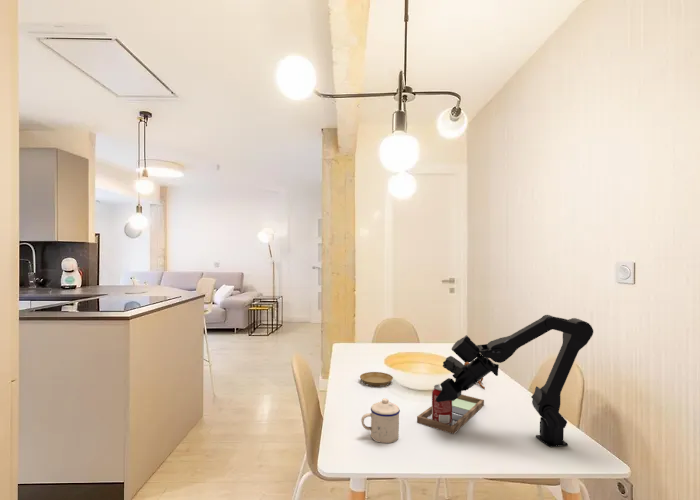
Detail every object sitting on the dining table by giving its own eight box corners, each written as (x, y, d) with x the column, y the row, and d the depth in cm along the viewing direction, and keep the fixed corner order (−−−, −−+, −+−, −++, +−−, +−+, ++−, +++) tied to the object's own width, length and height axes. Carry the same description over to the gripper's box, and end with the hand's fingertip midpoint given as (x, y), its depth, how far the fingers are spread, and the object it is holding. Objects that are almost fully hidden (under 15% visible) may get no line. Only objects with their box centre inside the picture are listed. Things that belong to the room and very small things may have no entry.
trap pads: (461, 422, 128) (461, 421, 128) (432, 413, 134) (432, 413, 134) (472, 412, 136) (472, 411, 136) (444, 404, 143) (444, 404, 143)
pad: (472, 412, 137) (472, 411, 137) (445, 404, 143) (445, 403, 143) (480, 405, 143) (480, 404, 143) (453, 398, 150) (453, 397, 150)
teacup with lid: (395, 429, 122) (396, 393, 122) (402, 443, 113) (403, 404, 113) (359, 430, 120) (359, 394, 121) (363, 445, 111) (364, 405, 112)
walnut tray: (453, 434, 119) (453, 427, 119) (417, 422, 127) (417, 416, 127) (483, 405, 143) (483, 400, 143) (451, 396, 151) (451, 391, 151)
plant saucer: (370, 390, 157) (370, 384, 157) (354, 379, 170) (354, 374, 170) (399, 385, 164) (399, 379, 164) (381, 375, 177) (381, 370, 177)
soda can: (452, 427, 124) (453, 391, 124) (431, 425, 125) (432, 389, 125) (451, 419, 130) (451, 384, 131) (431, 417, 132) (431, 383, 132)
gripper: (468, 345, 132) (438, 370, 139) (447, 356, 117) (414, 383, 124) (490, 372, 127) (458, 396, 134) (471, 387, 112) (436, 413, 119)
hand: (442, 396), depth 128 cm, fingers open, 9 cm apart
